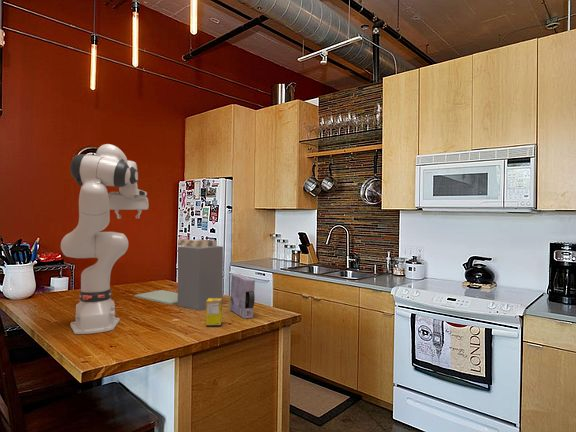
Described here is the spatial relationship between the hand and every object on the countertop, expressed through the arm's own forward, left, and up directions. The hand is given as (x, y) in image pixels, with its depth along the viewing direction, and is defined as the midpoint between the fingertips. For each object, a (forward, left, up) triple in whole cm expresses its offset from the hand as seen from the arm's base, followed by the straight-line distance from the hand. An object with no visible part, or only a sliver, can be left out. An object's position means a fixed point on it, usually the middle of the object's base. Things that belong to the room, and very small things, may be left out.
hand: (128, 218), depth 204 cm
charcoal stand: (-20, -34, -44) cm, 59 cm away
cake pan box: (-45, -48, -44) cm, 79 cm away
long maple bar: (-15, -31, -14) cm, 37 cm away
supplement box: (-57, -32, -44) cm, 79 cm away
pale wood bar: (-17, -37, -14) cm, 43 cm away
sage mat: (+4, -20, -44) cm, 48 cm away
